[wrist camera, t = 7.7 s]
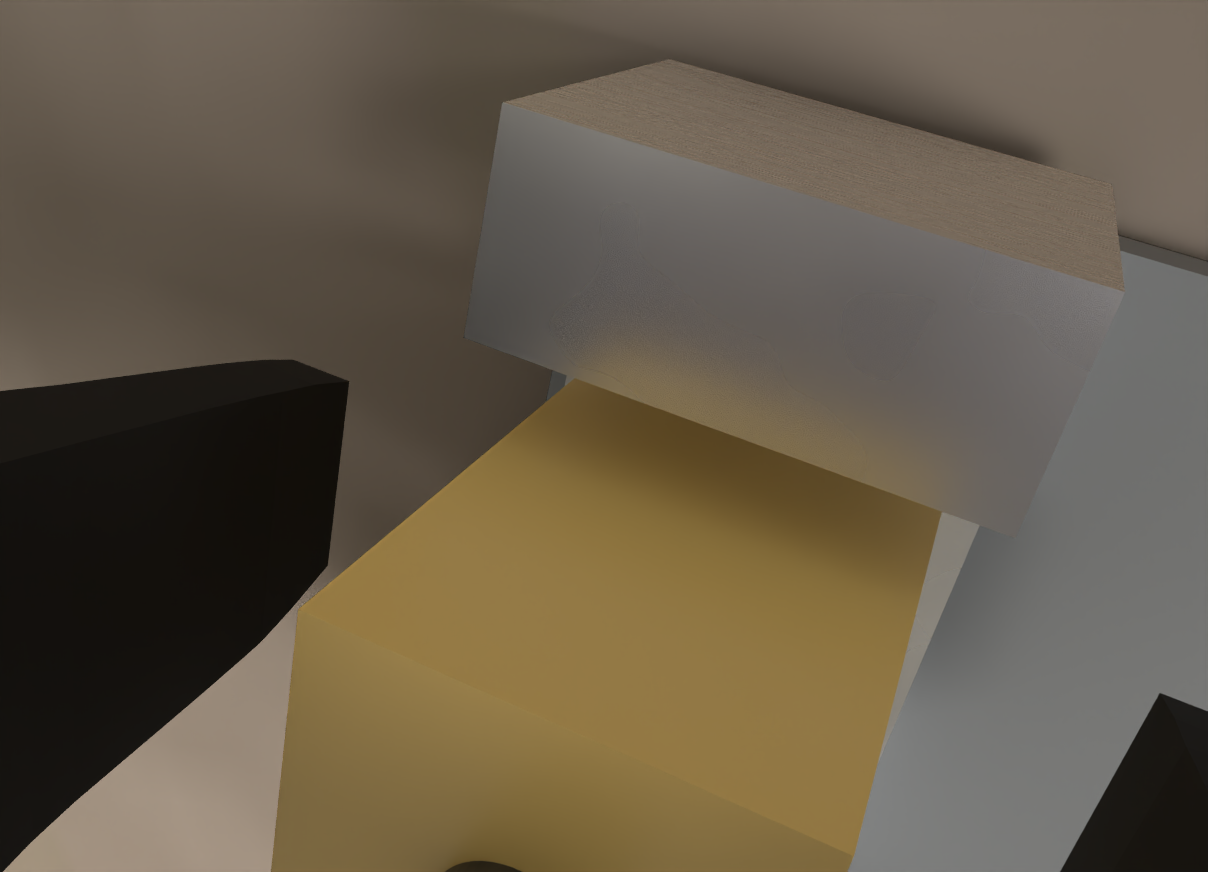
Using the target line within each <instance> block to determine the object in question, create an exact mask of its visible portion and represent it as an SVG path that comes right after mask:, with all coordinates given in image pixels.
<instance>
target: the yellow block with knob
mask: <svg viewBox="0 0 1208 872" xmlns="http://www.w3.org/2000/svg"><path fill="white" fill-rule="evenodd" d="M941 513H942V511H939V510H936V509H933V508H931V507H928V506H925V505H922V504H920V503H917V502H914V501H911V500H909V499H906V498H903V497H900V496H898V495H895V494H892V493H889V492H887V491H884V490H881V489H878V488H876V487H873V486H870V485H867V484H865V483H862V482H859V481H856V480H854V479H851V478H848V477H845V476H843V475H840V474H837V473H834V472H832V471H829V470H826V469H823V468H821V467H818V466H815V465H812V464H810V463H807V462H804V461H801V460H799V459H796V458H793V457H790V456H788V455H785V454H782V453H779V452H777V451H774V450H771V449H768V448H766V447H763V446H760V445H757V444H755V443H752V442H749V441H746V440H744V439H741V438H738V437H735V436H733V435H730V434H727V433H724V432H722V431H719V430H716V429H713V428H711V427H708V426H705V425H702V424H700V423H697V422H694V421H691V420H689V419H686V418H683V417H680V416H677V415H675V414H672V413H669V412H666V411H664V410H661V409H658V408H655V407H653V406H650V405H647V404H644V403H642V402H639V401H636V400H633V399H631V398H628V397H625V396H622V395H620V394H617V393H614V392H611V391H609V390H606V389H603V388H600V387H598V386H595V385H592V384H589V383H587V382H584V381H581V380H578V379H576V378H574V379H573V380H572V381H571V382H569V383H568V384H567V385H566V386H565V387H563V388H562V389H561V390H560V391H559V392H557V393H556V394H555V395H554V396H553V397H551V398H550V399H549V400H548V401H547V402H545V403H544V404H543V405H542V406H541V407H539V408H538V409H537V410H536V411H535V412H533V413H532V414H531V415H530V416H529V417H527V418H526V419H525V420H524V421H523V422H521V423H520V424H519V425H518V426H517V427H516V428H514V429H513V430H512V431H511V432H510V433H508V434H507V435H506V436H505V437H504V438H502V439H501V440H500V441H499V442H498V443H496V444H495V445H494V446H493V447H492V448H490V449H489V450H488V451H487V452H486V453H484V454H483V455H482V456H481V457H480V458H478V459H477V460H476V461H475V462H474V463H472V464H471V465H470V466H469V467H468V468H467V469H465V470H464V471H463V472H462V473H461V474H459V475H458V476H457V477H456V478H455V479H453V480H452V481H451V482H450V483H449V484H447V485H446V486H445V487H444V488H443V489H441V490H440V491H439V492H438V493H437V494H435V495H434V496H433V497H432V498H431V499H429V500H428V501H427V502H426V503H425V504H423V505H422V506H421V507H420V508H419V509H418V510H416V511H415V512H414V513H413V514H412V515H410V516H409V517H408V518H407V519H406V520H404V521H403V522H402V523H401V524H400V525H398V526H397V527H396V528H395V529H394V530H392V531H391V532H390V533H389V534H388V535H386V536H385V537H384V538H383V539H382V540H380V541H379V542H378V543H377V544H376V545H374V546H373V547H372V548H371V549H370V550H368V551H367V552H366V553H365V554H364V555H363V556H361V557H360V558H359V559H358V560H357V561H355V562H354V563H353V564H352V565H351V566H349V567H348V568H347V569H346V570H345V571H343V572H342V573H341V574H340V575H339V576H337V577H336V578H335V579H334V580H333V581H331V582H330V583H329V584H328V585H327V586H325V587H324V588H323V589H322V590H321V591H319V592H318V593H317V594H316V595H315V596H314V597H312V598H311V599H310V600H309V601H308V602H306V603H305V604H304V605H303V606H302V607H300V608H299V609H298V616H297V626H296V636H295V645H294V655H293V665H292V674H291V684H290V694H289V703H288V713H287V722H286V732H285V742H284V751H283V761H282V771H281V780H280V790H279V800H278V809H277V819H276V828H275V838H274V848H273V857H272V867H271V872H847V871H848V869H849V867H850V864H851V862H852V860H853V857H854V854H855V850H856V846H857V842H858V838H859V835H860V831H861V827H862V823H863V819H864V815H865V811H866V807H867V803H868V799H869V795H870V791H871V787H872V784H873V780H874V776H875V772H876V768H877V764H878V760H879V756H880V752H881V748H882V744H883V740H884V737H885V733H886V729H887V725H888V721H889V717H890V713H891V709H892V705H893V701H894V697H895V693H896V690H897V686H898V682H899V678H900V674H901V670H902V666H903V662H904V658H905V654H906V650H907V646H908V643H909V639H910V635H911V631H912V627H913V623H914V619H915V615H916V611H917V607H918V603H919V599H920V595H921V592H922V588H923V584H924V580H925V576H926V572H927V568H928V564H929V560H930V556H931V552H932V548H933V545H934V541H935V537H936V533H937V529H938V525H939V521H940V517H941Z"/></svg>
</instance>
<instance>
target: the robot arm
mask: <svg viewBox="0 0 1208 872" xmlns="http://www.w3.org/2000/svg"><path fill="white" fill-rule="evenodd" d="M348 387H349V381H347V380H344V379H342V378H339V377H337V376H334V375H331V374H329V373H326V372H324V371H321V370H318V369H316V368H313V367H311V366H308V365H305V364H303V363H300V362H298V361H295V360H259V361H246V362H235V363H225V364H216V365H208V366H200V367H191V368H184V369H176V370H168V371H161V372H153V373H146V374H138V375H131V376H123V377H116V378H108V379H100V380H93V381H85V382H78V383H70V384H62V385H54V386H45V387H35V388H25V389H16V390H6V391H0V872H3V871H4V870H5V869H6V868H7V867H8V866H9V865H10V864H11V862H12V861H13V860H14V859H15V858H16V857H17V856H18V855H19V854H20V853H21V852H22V851H23V850H24V849H25V848H26V847H27V846H28V845H29V844H30V843H31V842H32V841H33V840H34V839H35V838H36V837H37V836H38V835H39V834H40V833H42V832H43V831H44V830H45V829H46V828H47V827H48V826H49V825H50V824H51V823H52V822H53V821H55V820H56V819H57V818H58V817H59V816H60V815H61V814H62V813H63V812H64V811H65V810H66V809H68V808H69V807H70V806H71V805H72V804H73V803H74V802H75V801H76V800H78V799H79V798H80V797H81V796H82V795H83V794H85V793H86V792H87V791H88V790H89V789H90V788H92V787H93V786H94V785H95V784H96V783H97V782H99V781H100V780H101V779H102V778H103V777H105V776H106V775H107V774H108V773H109V772H110V771H112V770H113V769H114V768H115V767H116V766H117V765H119V764H120V763H121V762H122V761H123V760H125V759H126V758H127V757H128V756H129V755H130V754H132V753H133V752H134V751H135V750H136V749H137V748H139V747H140V746H141V745H142V744H143V743H145V742H146V741H147V740H148V739H149V738H150V737H152V736H153V735H154V734H155V733H156V732H157V731H159V730H160V729H161V728H162V727H163V726H165V725H166V724H167V723H168V722H169V721H170V720H172V719H173V718H174V717H175V716H176V715H177V714H179V713H180V712H181V711H182V710H183V709H185V708H186V707H187V706H188V705H189V704H190V703H192V702H193V701H194V700H195V699H196V698H197V697H199V696H200V695H201V694H202V693H203V692H204V691H206V690H207V689H208V688H209V687H210V686H211V685H212V684H214V683H215V682H216V681H217V680H218V679H219V678H221V677H222V676H223V675H224V674H225V673H226V672H227V671H229V670H230V669H231V668H232V667H233V666H234V665H235V664H237V663H238V662H239V661H240V660H241V659H242V658H243V657H245V656H246V655H247V654H248V653H249V652H250V651H251V650H252V649H254V648H255V647H256V646H257V645H258V644H259V643H260V642H261V641H262V640H263V639H264V638H265V637H266V636H267V635H268V634H269V633H270V631H271V630H272V629H273V628H274V627H275V626H276V625H277V624H278V623H279V622H280V620H281V619H282V618H283V617H284V616H285V615H286V614H287V613H288V612H289V611H290V609H291V608H292V607H293V606H294V605H295V604H296V602H297V601H298V600H299V599H300V598H301V597H302V595H303V594H304V593H305V592H306V591H307V589H308V588H309V587H310V586H311V585H312V583H313V582H314V581H315V580H316V579H317V577H318V576H319V575H320V574H321V573H322V572H323V570H324V569H325V568H326V567H327V566H328V558H329V549H330V541H331V532H332V524H333V515H334V507H335V498H336V490H337V481H338V472H339V464H340V455H341V447H342V438H343V430H344V421H345V412H346V404H347V395H348ZM1060 872H1208V711H1206V710H1203V709H1201V708H1198V707H1195V706H1193V705H1190V704H1188V703H1185V702H1182V701H1180V700H1177V699H1175V698H1172V697H1169V696H1167V695H1164V694H1162V693H1159V695H1158V697H1157V699H1156V700H1155V702H1154V704H1153V706H1152V708H1151V709H1150V711H1149V713H1148V715H1147V717H1146V718H1145V720H1144V722H1143V724H1142V726H1141V727H1140V729H1139V731H1138V733H1137V735H1136V736H1135V738H1134V740H1133V742H1132V744H1131V745H1130V747H1129V749H1128V751H1127V752H1126V754H1125V756H1124V758H1123V760H1122V761H1121V763H1120V765H1119V767H1118V769H1117V770H1116V772H1115V774H1114V776H1113V778H1112V779H1111V781H1110V783H1109V785H1108V787H1107V788H1106V790H1105V792H1104V794H1103V796H1102V797H1101V799H1100V801H1099V803H1098V804H1097V806H1096V808H1095V810H1094V812H1093V813H1092V815H1091V817H1090V819H1089V821H1088V822H1087V824H1086V826H1085V828H1084V830H1083V831H1082V833H1081V835H1080V837H1079V839H1078V840H1077V842H1076V844H1075V846H1074V848H1073V849H1072V851H1071V853H1070V855H1069V856H1068V858H1067V860H1066V862H1065V864H1064V865H1063V867H1062V869H1061V871H1060Z"/></svg>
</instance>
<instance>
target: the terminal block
mask: <svg viewBox="0 0 1208 872" xmlns="http://www.w3.org/2000/svg"><path fill="white" fill-rule="evenodd" d="M1124 293H1125V288H1124V280H1123V271H1122V262H1121V254H1120V245H1119V237H1118V228H1117V220H1116V211H1115V203H1114V194H1113V186H1112V184H1109V183H1105V182H1102V181H1098V180H1095V179H1091V178H1088V177H1084V176H1081V175H1077V174H1073V173H1070V172H1066V171H1063V170H1059V169H1056V168H1052V167H1049V166H1045V165H1042V164H1038V163H1035V162H1031V161H1028V160H1024V159H1021V158H1017V157H1014V156H1010V155H1006V154H1003V153H999V152H996V151H992V150H989V149H985V148H982V147H978V146H975V145H971V144H968V143H964V142H961V141H957V140H954V139H950V138H946V137H943V136H939V135H936V134H932V133H929V132H925V131H922V130H918V129H915V128H911V127H908V126H904V125H901V124H897V123H894V122H890V121H886V120H883V119H879V118H876V117H872V116H869V115H865V114H862V113H858V112H855V111H851V110H848V109H844V108H841V107H837V106H834V105H830V104H827V103H823V102H819V101H816V100H812V99H809V98H805V97H802V96H798V95H795V94H791V93H788V92H784V91H781V90H777V89H774V88H770V87H767V86H763V85H759V84H756V83H752V82H749V81H745V80H742V79H738V78H735V77H731V76H728V75H724V74H721V73H717V72H714V71H710V70H707V69H703V68H699V67H696V66H692V65H689V64H685V63H682V62H678V61H675V60H671V59H667V60H664V61H660V62H656V63H652V64H648V65H644V66H640V67H637V68H633V69H629V70H625V71H621V72H617V73H613V74H610V75H606V76H602V77H598V78H594V79H590V80H587V81H583V82H579V83H575V84H571V85H567V86H563V87H560V88H556V89H552V90H548V91H544V92H540V93H536V94H533V95H529V96H525V97H521V98H517V99H513V100H509V101H506V102H502V108H501V114H500V120H499V126H498V132H497V138H496V144H495V150H494V156H493V162H492V168H491V174H490V180H489V186H488V192H487V199H486V205H485V211H484V217H483V223H482V229H481V235H480V241H479V247H478V253H477V259H476V265H475V271H474V277H473V283H472V290H471V296H470V302H469V308H468V314H467V320H466V326H465V332H464V338H466V339H468V340H471V341H474V342H477V343H479V344H482V345H485V346H488V347H490V348H493V349H496V350H499V351H501V352H504V353H507V354H510V355H512V356H515V357H518V358H521V359H523V360H526V361H529V362H532V363H534V364H537V365H540V366H543V367H545V368H548V369H551V370H554V371H556V372H559V373H562V374H565V375H567V377H566V381H565V386H566V385H567V384H568V383H569V382H571V381H572V380H573V379H574V378H576V379H578V380H581V381H584V382H587V383H589V384H592V385H595V386H598V387H600V388H603V389H606V390H609V391H611V392H614V393H617V394H620V395H622V396H625V397H628V398H631V399H633V400H636V401H639V402H642V403H644V404H647V405H650V406H653V407H655V408H658V409H661V410H664V411H666V412H669V413H672V414H675V415H677V416H680V417H683V418H686V419H689V420H691V421H694V422H697V423H700V424H702V425H705V426H708V427H711V428H713V429H716V430H719V431H722V432H724V433H727V434H730V435H733V436H735V437H738V438H741V439H744V440H746V441H749V442H752V443H755V444H757V445H760V446H763V447H766V448H768V449H771V450H774V451H777V452H779V453H782V454H785V455H788V456H790V457H793V458H796V459H799V460H801V461H804V462H807V463H810V464H812V465H815V466H818V467H821V468H823V469H826V470H829V471H832V472H834V473H837V474H840V475H843V476H845V477H848V478H851V479H854V480H856V481H859V482H862V483H865V484H867V485H870V486H873V487H876V488H878V489H881V490H884V491H887V492H889V493H892V494H895V495H898V496H900V497H903V498H906V499H909V500H911V501H914V502H917V503H920V504H922V505H925V506H928V507H931V508H933V509H936V510H939V511H942V513H941V517H940V521H939V525H938V529H937V533H936V537H935V541H934V545H933V548H932V552H931V556H930V560H929V564H928V568H927V572H926V576H925V580H924V584H923V588H922V592H921V595H920V599H919V603H918V607H917V611H916V615H915V619H914V623H913V627H912V631H911V635H910V639H909V643H908V646H907V650H906V654H905V658H904V662H903V666H902V670H901V674H900V678H899V682H898V686H897V690H896V693H895V697H894V701H893V705H892V709H891V713H890V717H889V721H888V725H887V729H886V733H885V737H884V740H883V744H882V748H881V752H880V756H879V760H880V757H881V755H882V753H883V750H884V748H885V746H886V743H887V741H888V739H889V736H890V734H891V732H892V729H893V727H894V725H895V722H896V720H897V718H898V715H899V713H900V711H901V708H902V706H903V703H904V701H905V699H906V696H907V694H908V692H909V689H910V687H911V685H912V682H913V680H914V678H915V675H916V673H917V671H918V668H919V666H920V664H921V661H922V659H923V657H924V654H925V652H926V650H927V647H928V645H929V643H930V640H931V638H932V636H933V633H934V631H935V628H936V626H937V624H938V621H939V619H940V617H941V614H942V612H943V610H944V607H945V605H946V603H947V600H948V598H949V596H950V593H951V591H952V589H953V586H954V584H955V582H956V579H957V577H958V575H959V572H960V570H961V568H962V565H963V563H964V561H965V558H966V556H967V553H968V551H969V549H970V546H971V544H972V542H973V539H974V537H975V535H976V532H977V530H978V528H979V525H980V526H983V527H986V528H988V529H991V530H994V531H997V532H999V533H1002V534H1005V535H1008V536H1010V537H1013V538H1015V537H1016V535H1017V533H1018V531H1019V528H1020V526H1021V524H1022V522H1023V519H1024V517H1025V515H1026V513H1027V510H1028V508H1029V506H1030V504H1031V501H1032V499H1033V497H1034V495H1035V493H1036V490H1037V488H1038V486H1039V484H1040V481H1041V479H1042V477H1043V475H1044V472H1045V470H1046V468H1047V466H1048V463H1049V461H1050V459H1051V457H1052V454H1053V452H1054V450H1055V448H1056V445H1057V443H1058V441H1059V439H1060V437H1061V434H1062V432H1063V430H1064V428H1065V425H1066V423H1067V421H1068V419H1069V416H1070V414H1071V412H1072V410H1073V407H1074V405H1075V403H1076V401H1077V398H1078V396H1079V394H1080V392H1081V389H1082V387H1083V385H1084V383H1085V381H1086V378H1087V376H1088V374H1089V372H1090V369H1091V367H1092V365H1093V363H1094V360H1095V358H1096V356H1097V354H1098V351H1099V349H1100V347H1101V345H1102V342H1103V340H1104V338H1105V336H1106V333H1107V331H1108V329H1109V327H1110V325H1111V322H1112V320H1113V318H1114V316H1115V313H1116V311H1117V309H1118V307H1119V304H1120V302H1121V300H1122V298H1123V295H1124ZM565 386H564V387H565ZM879 760H878V762H879Z"/></svg>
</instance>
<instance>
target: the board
mask: <svg viewBox="0 0 1208 872" xmlns="http://www.w3.org/2000/svg"><path fill="white" fill-rule="evenodd" d="M1118 237H1119V245H1120V254H1121V262H1122V271H1123V280H1124V288H1125V293H1124V295H1123V298H1122V300H1121V302H1120V304H1119V307H1118V309H1117V311H1116V313H1115V316H1114V318H1113V320H1112V322H1111V325H1110V327H1109V329H1108V331H1107V333H1106V336H1105V338H1104V340H1103V342H1102V345H1101V347H1100V349H1099V351H1098V354H1097V356H1096V358H1095V360H1094V363H1093V365H1092V367H1091V369H1090V372H1089V374H1088V376H1087V378H1086V381H1085V383H1084V385H1083V387H1082V389H1081V392H1080V394H1079V396H1078V398H1077V401H1076V403H1075V405H1074V407H1073V410H1072V412H1071V414H1070V416H1069V419H1068V421H1067V423H1066V425H1065V428H1064V430H1063V432H1062V434H1061V437H1060V439H1059V441H1058V443H1057V445H1056V448H1055V450H1054V452H1053V454H1052V457H1051V459H1050V461H1049V463H1048V466H1047V468H1046V470H1045V472H1044V475H1043V477H1042V479H1041V481H1040V484H1039V486H1038V488H1037V490H1036V493H1035V495H1034V497H1033V499H1032V501H1031V504H1030V506H1029V508H1028V510H1027V513H1026V515H1025V517H1024V519H1023V522H1022V524H1021V526H1020V528H1019V531H1018V533H1017V535H1016V537H1015V538H1013V537H1010V536H1008V535H1005V534H1002V533H999V532H997V531H994V530H991V529H988V528H986V527H983V526H980V525H979V528H978V530H977V532H976V535H975V537H974V539H973V542H972V544H971V546H970V549H969V551H968V553H967V556H966V558H965V561H964V563H963V565H962V568H961V570H960V572H959V575H958V577H957V579H956V582H955V584H954V586H953V589H952V591H951V593H950V596H949V598H948V600H947V603H946V605H945V607H944V610H943V612H942V614H941V617H940V619H939V621H938V624H937V626H936V628H935V631H934V633H933V636H932V638H931V640H930V643H929V645H928V647H927V650H926V652H925V654H924V657H923V659H922V661H921V664H920V666H919V668H918V671H917V673H916V675H915V678H914V680H913V682H912V685H911V687H910V689H909V692H908V694H907V696H906V699H905V701H904V703H903V706H902V708H901V711H900V713H899V715H898V718H897V720H896V722H895V725H894V727H893V729H892V732H891V734H890V736H889V739H888V741H887V743H886V746H885V748H884V750H883V753H882V755H881V757H880V760H879V762H878V764H877V768H876V772H875V776H874V780H873V784H872V787H871V791H870V795H869V799H868V803H867V807H866V811H865V815H864V819H863V823H862V827H861V831H860V835H859V838H858V842H857V846H856V850H855V854H854V857H853V860H852V862H851V864H850V867H849V869H848V871H847V872H1060V871H1061V869H1062V867H1063V865H1064V864H1065V862H1066V860H1067V858H1068V856H1069V855H1070V853H1071V851H1072V849H1073V848H1074V846H1075V844H1076V842H1077V840H1078V839H1079V837H1080V835H1081V833H1082V831H1083V830H1084V828H1085V826H1086V824H1087V822H1088V821H1089V819H1090V817H1091V815H1092V813H1093V812H1094V810H1095V808H1096V806H1097V804H1098V803H1099V801H1100V799H1101V797H1102V796H1103V794H1104V792H1105V790H1106V788H1107V787H1108V785H1109V783H1110V781H1111V779H1112V778H1113V776H1114V774H1115V772H1116V770H1117V769H1118V767H1119V765H1120V763H1121V761H1122V760H1123V758H1124V756H1125V754H1126V752H1127V751H1128V749H1129V747H1130V745H1131V744H1132V742H1133V740H1134V738H1135V736H1136V735H1137V733H1138V731H1139V729H1140V727H1141V726H1142V724H1143V722H1144V720H1145V718H1146V717H1147V715H1148V713H1149V711H1150V709H1151V708H1152V706H1153V704H1154V702H1155V700H1156V699H1157V697H1158V695H1159V693H1162V694H1164V695H1167V696H1169V697H1172V698H1175V699H1177V700H1180V701H1182V702H1185V703H1188V704H1190V705H1193V706H1195V707H1198V708H1201V709H1203V710H1206V711H1208V262H1207V261H1204V260H1200V259H1197V258H1194V257H1190V256H1187V255H1183V254H1180V253H1177V252H1173V251H1170V250H1166V249H1163V248H1160V247H1156V246H1153V245H1149V244H1146V243H1142V242H1139V241H1136V240H1132V239H1129V238H1125V237H1122V236H1119V235H1118ZM566 377H567V375H565V374H562V373H559V372H556V371H554V370H552V374H551V379H550V384H549V389H548V394H547V399H546V402H547V401H548V400H549V399H550V398H551V397H553V396H554V395H555V394H556V393H557V392H559V391H560V390H561V389H562V388H563V387H564V386H565V381H566Z"/></svg>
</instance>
